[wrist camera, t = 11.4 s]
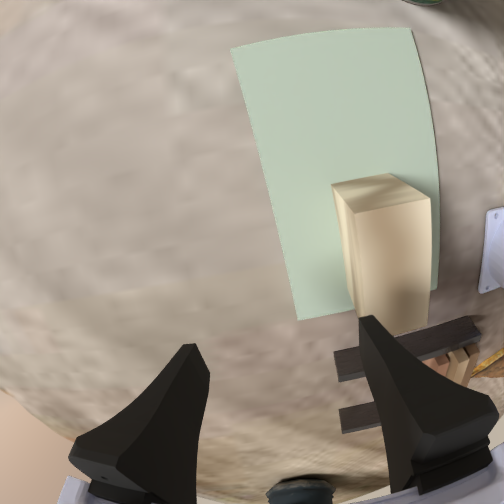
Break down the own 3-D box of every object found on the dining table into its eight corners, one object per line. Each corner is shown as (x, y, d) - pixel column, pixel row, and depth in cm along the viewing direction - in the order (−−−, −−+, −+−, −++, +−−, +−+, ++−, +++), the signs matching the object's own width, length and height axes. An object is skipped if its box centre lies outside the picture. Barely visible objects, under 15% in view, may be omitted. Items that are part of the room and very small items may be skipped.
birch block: (387, 172, 18) (430, 198, 12) (396, 276, 21) (426, 326, 15) (330, 184, 18) (354, 214, 13) (347, 288, 21) (366, 342, 16)
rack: (467, 315, 23) (481, 334, 20) (449, 382, 27) (457, 400, 24) (333, 351, 25) (338, 376, 22) (339, 412, 29) (342, 434, 26)
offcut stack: (462, 323, 23) (482, 353, 19) (448, 376, 27) (462, 404, 22) (426, 335, 24) (443, 368, 20) (416, 387, 27) (427, 417, 23)
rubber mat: (407, 29, 13) (410, 27, 13) (434, 286, 21) (436, 288, 21) (230, 50, 15) (230, 48, 15) (297, 317, 23) (298, 320, 23)
